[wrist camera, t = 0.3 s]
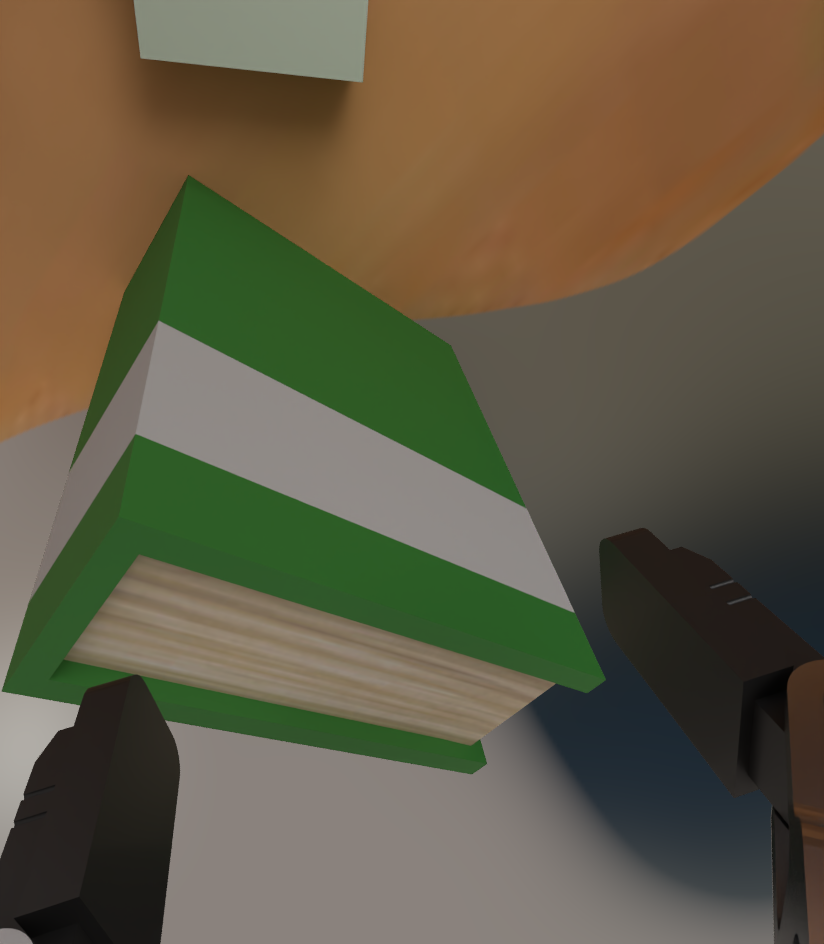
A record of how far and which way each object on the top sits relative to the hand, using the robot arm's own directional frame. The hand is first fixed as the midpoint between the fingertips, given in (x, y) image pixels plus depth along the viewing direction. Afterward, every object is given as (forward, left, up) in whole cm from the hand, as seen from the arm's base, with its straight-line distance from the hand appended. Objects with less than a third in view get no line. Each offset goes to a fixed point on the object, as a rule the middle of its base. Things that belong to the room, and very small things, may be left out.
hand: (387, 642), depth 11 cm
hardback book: (+6, -7, -29) cm, 30 cm away
